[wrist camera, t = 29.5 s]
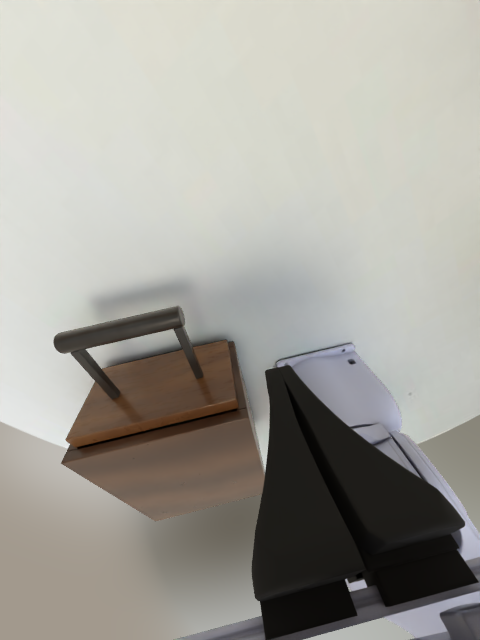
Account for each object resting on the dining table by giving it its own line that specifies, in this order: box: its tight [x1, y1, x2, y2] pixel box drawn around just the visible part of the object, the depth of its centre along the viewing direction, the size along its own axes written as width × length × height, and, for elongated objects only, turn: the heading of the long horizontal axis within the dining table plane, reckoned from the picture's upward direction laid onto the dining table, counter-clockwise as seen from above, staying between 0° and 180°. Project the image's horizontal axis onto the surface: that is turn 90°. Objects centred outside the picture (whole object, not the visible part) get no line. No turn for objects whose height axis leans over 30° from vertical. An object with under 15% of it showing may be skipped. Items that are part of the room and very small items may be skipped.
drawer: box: [54, 306, 239, 447], centre depth 20 cm, size 22×12×7 cm, turn 10°
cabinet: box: [61, 342, 265, 521], centre depth 23 cm, size 17×14×9 cm
